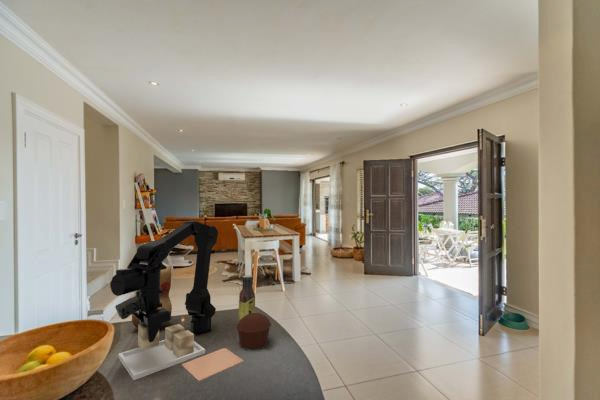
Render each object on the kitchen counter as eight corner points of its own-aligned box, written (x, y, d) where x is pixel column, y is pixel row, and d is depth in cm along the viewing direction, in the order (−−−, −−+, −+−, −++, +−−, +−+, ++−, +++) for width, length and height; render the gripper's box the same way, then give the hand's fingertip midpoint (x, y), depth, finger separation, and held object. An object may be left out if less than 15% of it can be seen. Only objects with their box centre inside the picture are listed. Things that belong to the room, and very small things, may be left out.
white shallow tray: (183, 338, 100) (184, 333, 100) (205, 355, 88) (205, 349, 89) (118, 359, 86) (118, 353, 86) (133, 382, 74) (133, 375, 74)
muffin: (240, 356, 88) (240, 323, 88) (232, 341, 98) (233, 312, 98) (276, 348, 93) (276, 317, 93) (265, 334, 103) (265, 307, 103)
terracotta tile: (224, 350, 92) (224, 347, 92) (243, 363, 84) (243, 360, 84) (181, 367, 82) (181, 364, 82) (198, 383, 74) (198, 380, 74)
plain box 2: (187, 348, 91) (187, 329, 92) (193, 353, 88) (193, 334, 88) (173, 353, 88) (173, 334, 88) (179, 359, 85) (179, 338, 85)
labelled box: (153, 339, 87) (154, 319, 88) (159, 344, 84) (159, 324, 84) (137, 344, 84) (138, 323, 84) (142, 350, 81) (143, 328, 81)
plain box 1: (178, 341, 96) (179, 323, 96) (184, 346, 93) (184, 327, 93) (164, 346, 93) (165, 327, 93) (170, 350, 90) (170, 331, 90)
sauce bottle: (251, 332, 105) (251, 278, 106) (235, 330, 106) (236, 277, 107) (257, 325, 112) (257, 274, 112) (242, 324, 113) (243, 274, 114)
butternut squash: (152, 338, 100) (153, 267, 101) (122, 333, 104) (124, 265, 104) (179, 323, 113) (180, 260, 114) (152, 319, 117) (154, 259, 118)
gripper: (111, 285, 86) (109, 337, 85) (128, 299, 73) (126, 361, 72) (150, 279, 94) (149, 327, 93) (172, 290, 81) (171, 346, 80)
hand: (148, 339), depth 84 cm, fingers closed on labelled box, 4 cm apart
